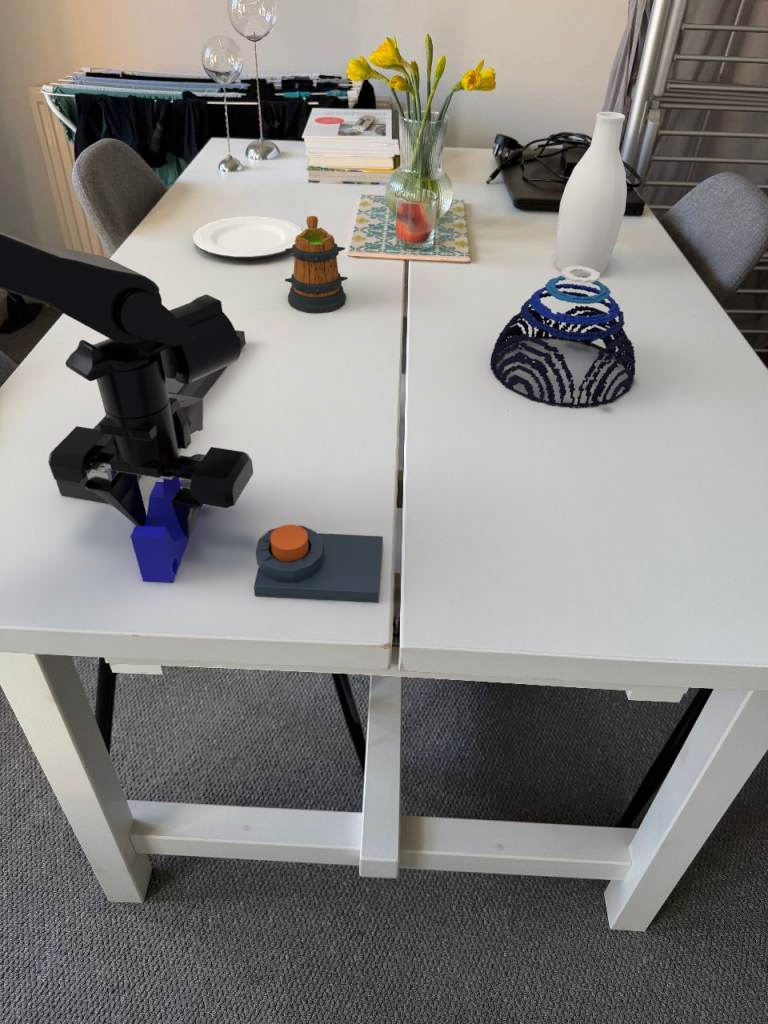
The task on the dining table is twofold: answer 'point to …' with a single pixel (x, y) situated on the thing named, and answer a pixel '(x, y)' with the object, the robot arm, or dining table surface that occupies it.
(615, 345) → the decorative bowl
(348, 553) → the switch block
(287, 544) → the power button
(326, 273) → the mug
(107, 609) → the dining table surface
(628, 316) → the dining table surface
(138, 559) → the cable clip
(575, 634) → the dining table surface
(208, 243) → the plate
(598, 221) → the bottle
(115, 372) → the robot arm
